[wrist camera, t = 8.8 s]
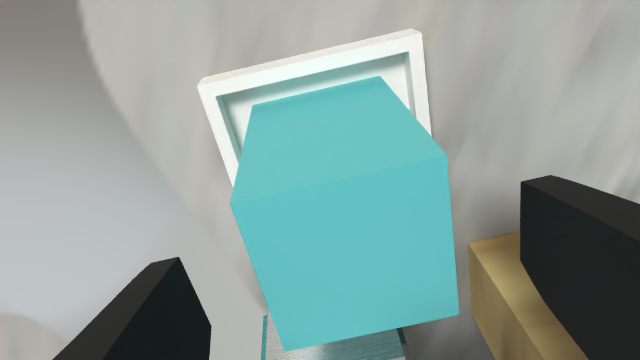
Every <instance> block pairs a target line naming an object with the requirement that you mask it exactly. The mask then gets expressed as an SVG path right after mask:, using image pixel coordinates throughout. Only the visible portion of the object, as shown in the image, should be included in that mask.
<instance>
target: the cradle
mask: <svg viewBox="0 0 640 360" xmlns="http://www.w3.org/2000/svg"><path fill="white" fill-rule="evenodd" d="M375 76H381V77H382V79H383V80H384V81H385V82H386V83H387V85H388V86H389V87H390V88H391V89H392V90H393V92H394V93H395V94H396V95H397V96H398V98H399V99H400V100H401V101H402V102H403V103H404V105H405V106H406V107H407V108H408V109H409V111H410V112H411V113H412V114H413V115H414V117H415V118H416V119H417V120H418V121H419V122H420V124H421V125H422V126H423V127H424V128H425V130H426V131H427V132H428V133H429V134H430V135H431V126H430V115H429V105H428V95H427V84H426V74H425V63H424V53H423V42H422V33H420V32H418V31H416V30H414V29H412V28H411V29H407V30H402V31H398V32H394V33H390V34H386V35H381V36H377V37H373V38H369V39H364V40H360V41H356V42H352V43H347V44H343V45H339V46H335V47H330V48H326V49H322V50H318V51H313V52H309V53H305V54H301V55H296V56H292V57H288V58H284V59H279V60H275V61H271V62H267V63H262V64H258V65H254V66H250V67H246V68H241V69H237V70H233V71H229V72H224V73H220V74H216V75H212V76H207V77H203V78H202V80H201V81H200V82H199V84H198V85H197V88H198V90H199V93H200V96H201V99H202V102H203V104H204V107H205V110H206V113H207V116H208V118H209V121H210V124H211V127H212V130H213V132H214V135H215V138H216V141H217V144H218V146H219V149H220V152H221V155H222V158H223V161H224V163H225V166H226V169H227V172H228V175H229V177H230V180H231V183H232V186H233V187H234V183H235V179H236V174H237V170H238V166H239V161H240V157H241V153H242V148H243V144H244V140H245V135H246V131H247V127H248V123H249V118H250V114H251V110H252V105H255V104H259V103H263V102H267V101H272V100H276V99H280V98H285V97H289V96H293V95H298V94H302V93H306V92H311V91H315V90H319V89H324V88H328V87H332V86H337V85H341V84H345V83H349V82H354V81H358V80H362V79H367V78H371V77H375ZM431 137H432V136H431Z"/></svg>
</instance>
